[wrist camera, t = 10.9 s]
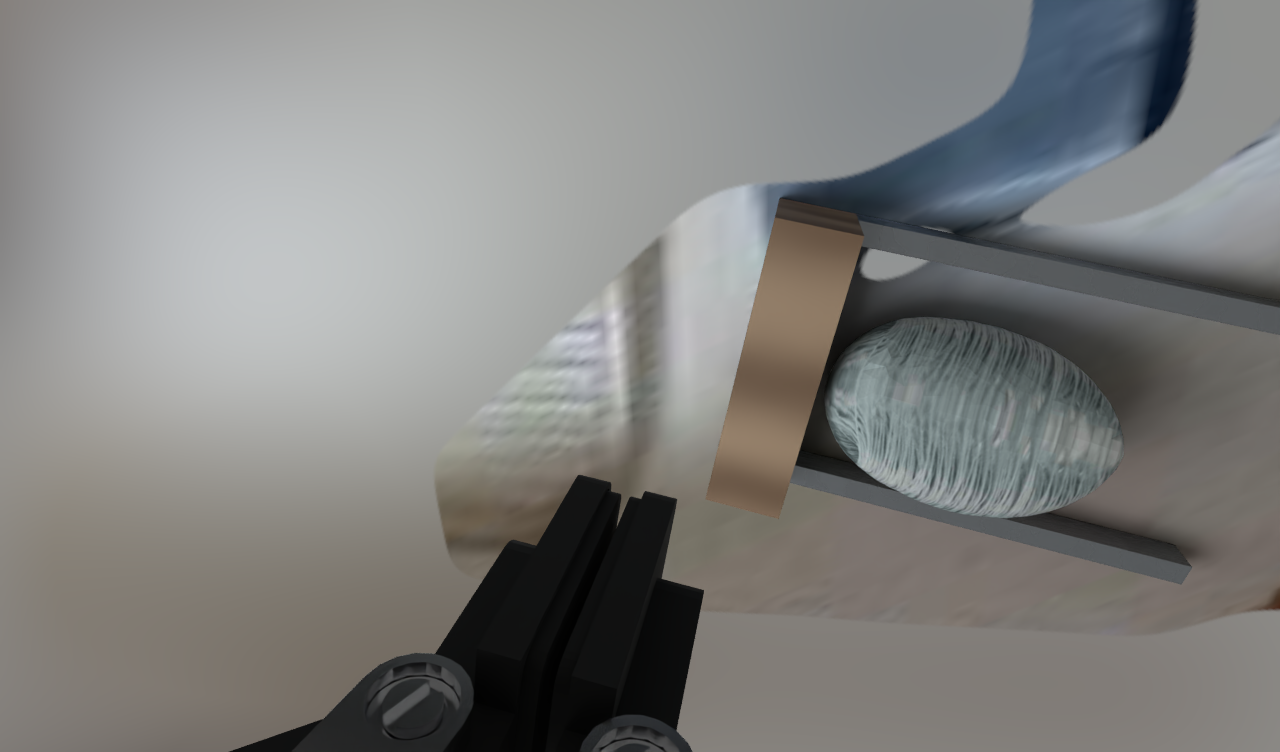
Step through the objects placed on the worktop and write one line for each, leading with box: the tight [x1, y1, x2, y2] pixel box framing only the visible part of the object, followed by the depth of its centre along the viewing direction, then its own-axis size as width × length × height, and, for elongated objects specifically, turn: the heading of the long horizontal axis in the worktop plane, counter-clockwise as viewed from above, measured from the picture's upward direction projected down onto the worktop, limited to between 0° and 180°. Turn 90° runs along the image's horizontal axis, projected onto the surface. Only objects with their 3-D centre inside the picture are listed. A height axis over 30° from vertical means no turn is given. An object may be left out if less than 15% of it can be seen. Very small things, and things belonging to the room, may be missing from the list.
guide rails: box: [790, 214, 1280, 584], centre depth 37 cm, size 15×22×2 cm
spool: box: [824, 317, 1124, 518], centre depth 35 cm, size 14×10×10 cm
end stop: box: [706, 198, 864, 519], centre depth 37 cm, size 15×4×6 cm, turn 170°
